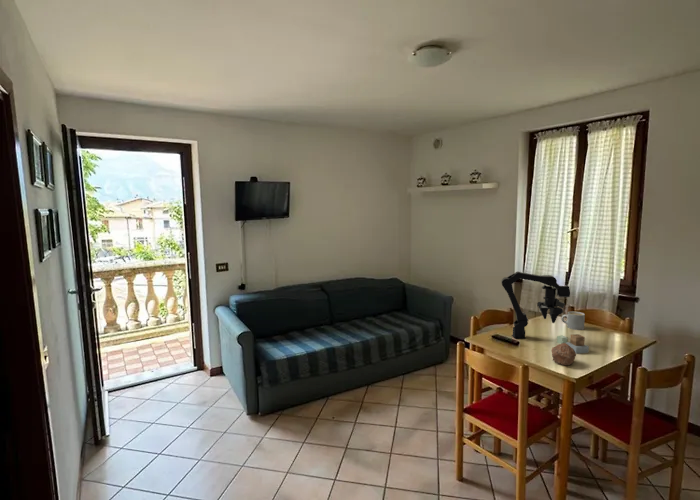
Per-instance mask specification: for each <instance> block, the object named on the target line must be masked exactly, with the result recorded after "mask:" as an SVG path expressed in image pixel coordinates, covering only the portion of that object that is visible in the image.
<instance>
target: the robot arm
mask: <svg viewBox="0 0 700 500" xmlns="http://www.w3.org/2000/svg"><path fill="white" fill-rule="evenodd" d="M519 279H521V280H527V281H532V282H537V283H542V284H543V286H541V289H543V290H544V291H545V292H544V296H543V300H544V301H538V302H537V303H536V304H537V307H538V309H539V310H540V313H541V316H542V317H543V319H544V320H546V319H547V317H548V311H549V315H550V316H549V317H550V319H551V323H552V324H555V323H556V321H557V318H558V316H560V315H563V313H564V307H565V306H566V305H565V304H566V303H565V302H563V301H560V299H558V298H570V297H571V291H570V286H569V285H560V284H558V283H557V282H558V281H557V279H556V277H555V276H553V275H552V274H551V275H550V274H548V275H547V274H543V275H542V274H541V275H539V274H533V273H526V272H521V271H516V272H514V273H513V274H510V275H509V276H505V277H503V278H501V280H500V282H501V285H502V288H503V289H504V290H505V292H506V293H507V295H508V297H509V300H510V302H511V306H512V307H513V310H514V312H515V316H516V317H515V318H516V320H514V321H513V327H512V334H511V337H512V338H514V339H516V340H517V339H518V340H519V339H520V340H521V339H522V340H523V339H524V340H525V339H526V329H525V327H527V326H528V324H529V318H528V317H527V313H526V312H525V311H524V312H523V311H522V309H521V307H520V305H519V302H518V300H517V298H516V294H515V292H514V288H513V284H514V283H515V282H517V281H518V280H519ZM556 296H558V298H557V297H556Z"/></svg>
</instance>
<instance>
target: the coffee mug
mask: <svg viewBox="0 0 700 500" xmlns="http://www.w3.org/2000/svg"><path fill="white" fill-rule="evenodd" d="M585 316H586V315H585V313H584V312H580V311H567V314H562V315H561V321H562V323H564V324H566V327H567V328H568V329H570V330H574V331H583V330H585V318H586V317H585ZM565 318H566V320H565Z"/></svg>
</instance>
